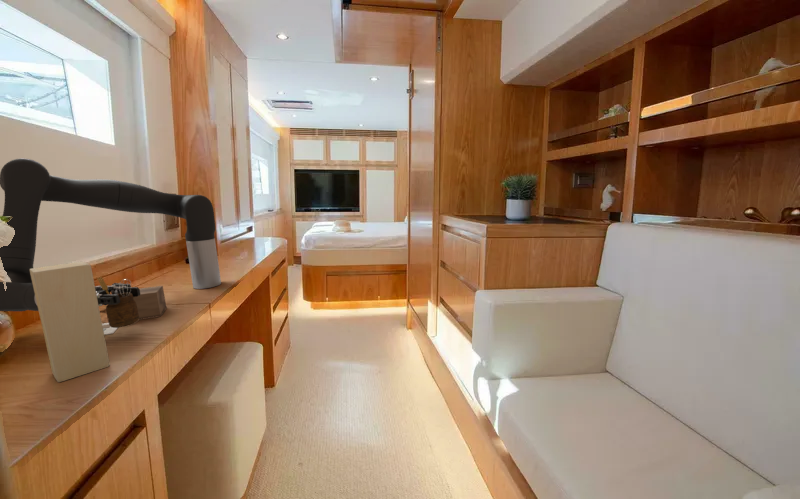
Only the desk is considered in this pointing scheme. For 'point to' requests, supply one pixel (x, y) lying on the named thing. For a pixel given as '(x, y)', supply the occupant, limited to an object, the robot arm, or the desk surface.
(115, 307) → the utensil holder
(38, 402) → the desk surface
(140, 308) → the walnut base block
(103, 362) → the toy refrigerator
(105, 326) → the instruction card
